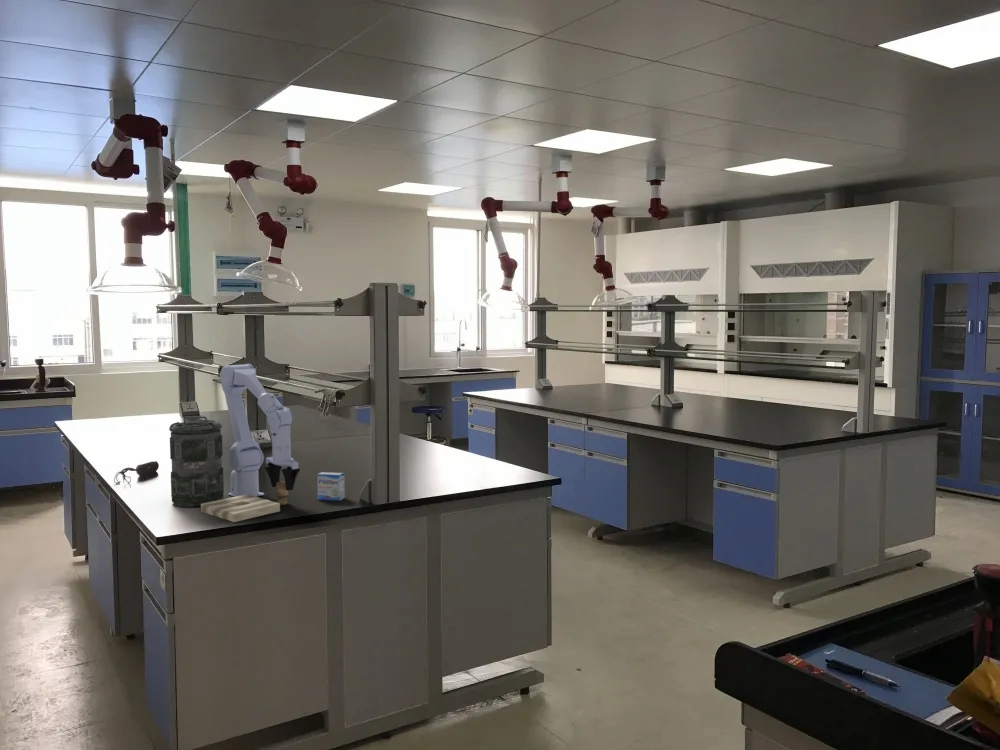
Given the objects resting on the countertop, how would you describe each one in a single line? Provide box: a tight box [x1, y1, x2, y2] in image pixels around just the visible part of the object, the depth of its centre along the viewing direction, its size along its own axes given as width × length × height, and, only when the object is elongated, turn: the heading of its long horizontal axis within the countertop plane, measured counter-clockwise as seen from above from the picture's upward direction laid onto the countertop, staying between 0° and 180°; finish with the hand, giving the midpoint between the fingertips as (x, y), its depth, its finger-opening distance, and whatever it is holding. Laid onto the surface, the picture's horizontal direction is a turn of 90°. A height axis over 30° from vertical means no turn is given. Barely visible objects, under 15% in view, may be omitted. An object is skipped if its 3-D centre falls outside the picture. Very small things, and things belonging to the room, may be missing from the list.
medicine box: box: [317, 471, 346, 502], centre depth 256 cm, size 8×4×9 cm, turn 81°
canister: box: [168, 415, 225, 508], centre depth 251 cm, size 16×16×28 cm
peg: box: [275, 480, 289, 506], centre depth 250 cm, size 4×4×7 cm
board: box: [200, 494, 281, 523], centre depth 240 cm, size 18×16×2 cm
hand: (282, 488), depth 249 cm, fingers open, 7 cm apart
